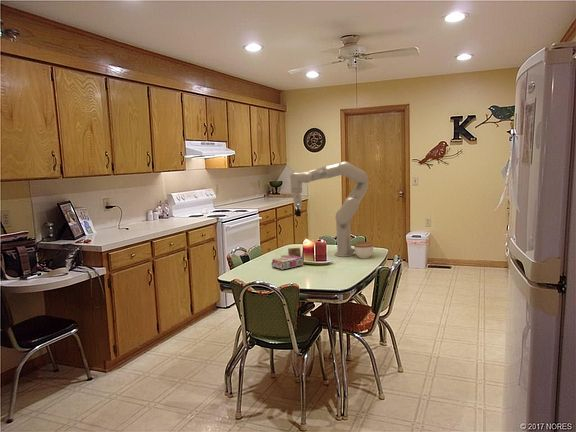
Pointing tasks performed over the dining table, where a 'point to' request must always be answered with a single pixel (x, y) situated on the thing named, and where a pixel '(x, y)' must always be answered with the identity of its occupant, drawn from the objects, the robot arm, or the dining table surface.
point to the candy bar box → (287, 262)
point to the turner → (293, 252)
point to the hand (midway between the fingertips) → (297, 215)
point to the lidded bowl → (363, 249)
